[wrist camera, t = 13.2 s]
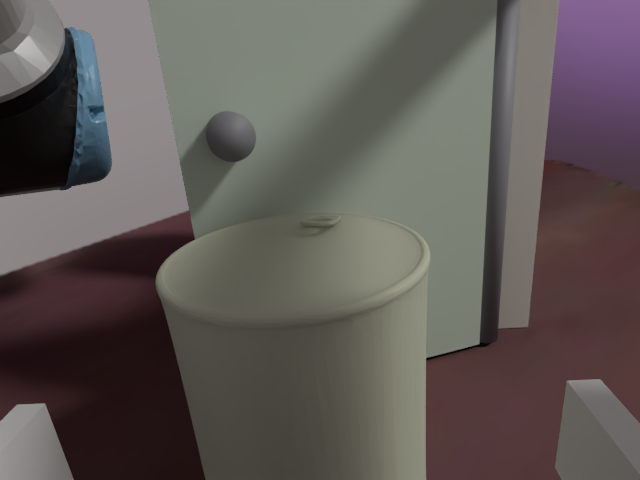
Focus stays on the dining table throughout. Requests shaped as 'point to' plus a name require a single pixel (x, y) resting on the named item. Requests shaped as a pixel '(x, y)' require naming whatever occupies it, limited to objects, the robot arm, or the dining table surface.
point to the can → (303, 347)
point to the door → (354, 126)
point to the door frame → (527, 156)
